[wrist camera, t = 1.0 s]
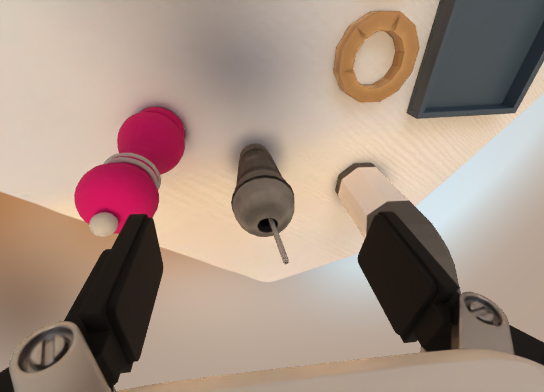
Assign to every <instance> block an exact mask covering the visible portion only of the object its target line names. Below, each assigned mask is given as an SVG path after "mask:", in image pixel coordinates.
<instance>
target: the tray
mask: <svg viewBox="0 0 544 392" xmlns="http://www.w3.org/2000/svg"><path fill="white" fill-rule="evenodd" d="M543 61H544V0H440V4H439V7H438V10H437V14H436V17H435V20H434V24H433V27H432V30H431V34H430V37H429V40H428V44H427V47H426V50H425V54H424V57H423V60H422V64H421V67H420V70H419V74H418V77H417V80H416V84H415V87H414V90H413V94H412V97H411V100H410V104H409V107H408V110H407V113H408V114H409V115H411V116H413V117H415V118H417V119H419V118H437V117H454V116H472V115H490V114H508V113H516V111H517V109H518V107H519V105H520V103H521V102H522V100H523V98H524V96H525V94H526V93H527V91H528V89H529V87H530V85H531V83H532V82H533V80H534V78H535V76H536V74H537V72H538V71H539V69H540V67H541V65H542V63H543Z"/></svg>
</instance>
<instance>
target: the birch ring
mask: <svg viewBox="0 0 544 392" xmlns="http://www.w3.org/2000/svg"><path fill="white" fill-rule="evenodd" d="M377 31H386V32H387V33H388V34H389V35H390V36H391V37H393V40H394V45H395V49H396V53H395V57H394V61H393V65H392V67H391V68H390V70H389V71H388V72H387V74H386V75H385V77H384V78H382V79H381V80H379V81H377V82H376V83H374V84H372V85H362V84H360V83H359V82H357V79H356V76H355V73H354V70H353V68H354V61H355V55H356V53H357V51H358V50H359V48H360V46H361V45H362V43H363V42H364V40H365V39H366V38H368V37H369V36H371V35H372V34H374V33H376V32H377ZM418 50H419V43H418V37H417V32H416V26H415V25H414V24H413V23H412V22H411V21H410V20H409V19H408V18H407V17H406V16H405V15H404V14H403V13H401V12H400V11H376V12H369V13H368V14H366V15H365V16H363V17H362V18H360V19H359V20H357V21H356V22H354V23H353V24H351V25H350V26H349V28H348V29H347V31H346V33H345V34H344V36H343V38H342V39H341V41H340V43H339V44H338V46H337V48H336V56H335V64H334V74H335V76H336V79H337V81H338V84H339V87H340V89H341V90H342V91H344V92H345V93H347V94H348V95H350V96H351V97H353V98H354V99H356V100H357V101H359V102H361V103H362V102H380V101H381V100H383V99H385V98H387V97H388V96H390V95H392V94H393V93H395V92H397V91H398V90H399V89H400V87H401V86H402V85H403V83H404V82H405V81H406V79H407V78H408V77H409V75H410V74H411V73H412V71H413V68H414V64H415V61H416V57H417V54H418Z"/></svg>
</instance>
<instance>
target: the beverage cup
mask: <svg viewBox="0 0 544 392" xmlns="http://www.w3.org/2000/svg"><path fill="white" fill-rule="evenodd" d="M231 204H232V209H233V212H234V215H235V218H236V220H237V221H238V223H239V224H240V225H241V227H242V228H243V229H244V230H246V231H247V232H249V233H250V234H253V235H256V236H260V237H268V236H273V235H274V237H275V240H276V243H277V246H278V248H279V251H280V254H281V257H282V260H283V263H284V264H288V263H289V260H288V257H287V254H286V252H285V249H284V246H283V244H282V241H281V238H280V236H279V233H280V232H281V231H282V230H284V229H285V228H286V227H287V225H288V224H289V223H290V221H291V219H292V216H293V214H294V193H293V190H292V188H291V186H290V185H289V184H288V183H287V182H286V181H285V180H284V179H283V178H282V176H281V174H280V172H279V170H278V168H277V166H276V164H275V162H274V160H273V158H272V156H271V155H270V153H269V152H268V150H267V149H266V148H265V147H264V146H262V145H260V144H251V145H248V146H246V147H245V148H244V149H243V150H242V152H241V155H240V160H239V167H238V176H237V185H236V188H235V191H234V193H233V196H232V201H231Z"/></svg>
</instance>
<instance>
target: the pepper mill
mask: <svg viewBox="0 0 544 392" xmlns="http://www.w3.org/2000/svg"><path fill="white" fill-rule="evenodd" d="M184 138H185V130H184V126H183V124H182V122H181V121H180V119H179V118H178V117H177V116H176V115H175V114H174V113H172V112H171V111H169V110H167V109H164V108H161V107H150V108H146V109H144V110H143V111H141V112H140V113H137V114H135V115H132V116H131V117H129V118H128V119H127V120H126V121H125V122H124V123H123V125H122V126H121V128H120V130H119V133H118V139H117V142H118V151H119V153H118V154H115V155H113V156H111V157H110V158H108V159H107V160H106V161H105V163H104V164H103V165H99V166H96V167H94V168H93V169H91V170H90V171H88V172H87V173H86V174H85V175H84V176H83V177H82V178H81V180H80V181H79V183H78V185H77V187H76V191H75V205H76V208H77V211H78V213H79V214H80V216H81V217H82V218H83V220H84V221H85V222H86V223H88V224H89V228H90V230H91V232H92V233H93V234H95V235H97V236H101V237H104V236H109V235H111V234H113V233H120V231H121V230H122V228H123V226H124V224H125V222H126V220H127V218H128V216H129V215H130V214H147V215H148V217H149V218H152V217H153V216H154V214H155V212H156V210H157V208H158V203H159V193H158V189H159V187H160V184H161V177H160V175H161V174H163V173H166V172H168V171H170V170H171V169H172V168H174V167H175V166H176V165H177V164H178V162H179V161H180V159H181V157H182V156H183V153H184V148H185V144H184Z"/></svg>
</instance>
